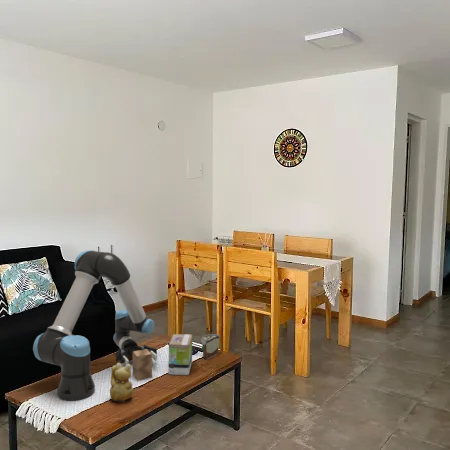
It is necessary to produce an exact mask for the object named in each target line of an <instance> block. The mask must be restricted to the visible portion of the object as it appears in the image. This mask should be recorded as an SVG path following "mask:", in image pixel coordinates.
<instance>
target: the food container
mask: <svg viewBox="0 0 450 450" xmlns="http://www.w3.org/2000/svg"><path fill="white" fill-rule="evenodd" d="M220 339H221V336H220V334H219V333H218V334H216V333H209V334H204V335H203V336H201V339H200V343H201V345H202V357H203V359H204V360H209V359H211V358H213V357H215V356H217V355H219V349H220V346H219V345H220Z"/></svg>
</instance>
